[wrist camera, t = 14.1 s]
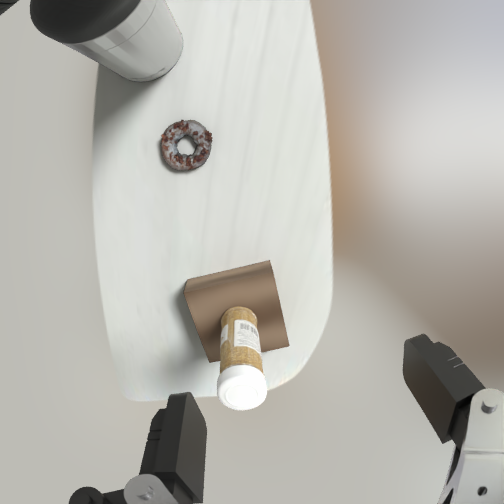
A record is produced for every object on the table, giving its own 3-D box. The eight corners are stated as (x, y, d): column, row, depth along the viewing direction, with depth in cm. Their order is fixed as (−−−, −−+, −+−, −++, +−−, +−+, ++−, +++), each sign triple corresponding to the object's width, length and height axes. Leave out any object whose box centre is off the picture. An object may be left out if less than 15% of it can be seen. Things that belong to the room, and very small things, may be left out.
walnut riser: (187, 279, 41) (183, 292, 38) (269, 260, 41) (273, 272, 37) (211, 346, 45) (209, 362, 41) (285, 330, 45) (289, 346, 41)
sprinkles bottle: (213, 318, 39) (206, 392, 26) (242, 298, 38) (246, 369, 25) (236, 341, 40) (238, 418, 28) (265, 323, 39) (277, 397, 27)
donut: (208, 184, 38) (207, 186, 36) (149, 170, 37) (144, 172, 35) (226, 118, 36) (225, 117, 34) (164, 106, 35) (160, 104, 33)
